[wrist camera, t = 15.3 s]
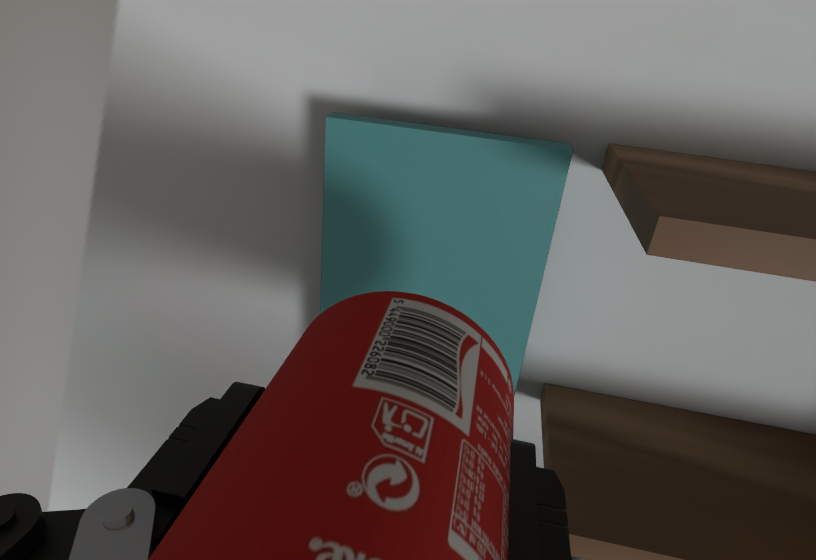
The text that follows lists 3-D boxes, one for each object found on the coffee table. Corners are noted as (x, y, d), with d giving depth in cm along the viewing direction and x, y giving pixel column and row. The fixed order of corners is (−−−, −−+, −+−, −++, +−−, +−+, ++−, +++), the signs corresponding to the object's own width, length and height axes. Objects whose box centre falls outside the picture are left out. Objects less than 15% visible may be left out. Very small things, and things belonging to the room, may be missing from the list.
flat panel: (507, 423, 24) (318, 387, 24) (507, 407, 24) (324, 374, 25) (572, 150, 18) (325, 116, 19) (570, 143, 19) (333, 112, 20)
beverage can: (271, 368, 17) (-131, 934, 7) (386, 229, 14) (4, 829, 4) (424, 479, 18) (285, 1136, 7) (561, 369, 15) (651, 1179, 5)
